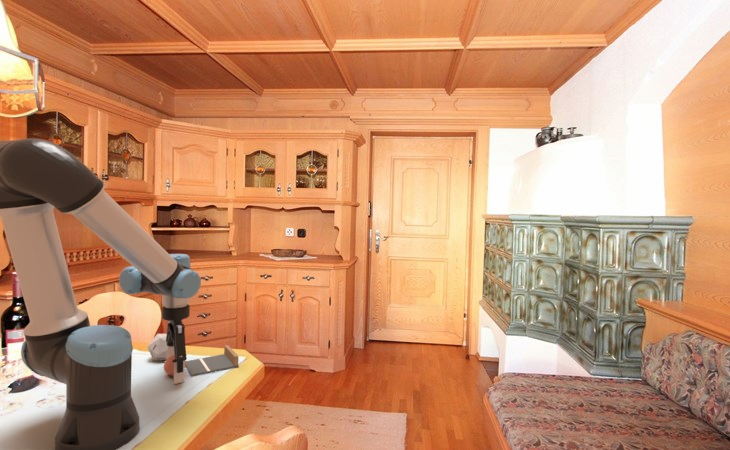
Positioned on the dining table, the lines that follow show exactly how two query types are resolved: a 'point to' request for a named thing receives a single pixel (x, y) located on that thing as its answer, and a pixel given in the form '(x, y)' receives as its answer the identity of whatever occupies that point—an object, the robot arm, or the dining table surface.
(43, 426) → the dining table surface
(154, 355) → the die
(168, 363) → the ball
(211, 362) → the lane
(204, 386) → the dining table surface
